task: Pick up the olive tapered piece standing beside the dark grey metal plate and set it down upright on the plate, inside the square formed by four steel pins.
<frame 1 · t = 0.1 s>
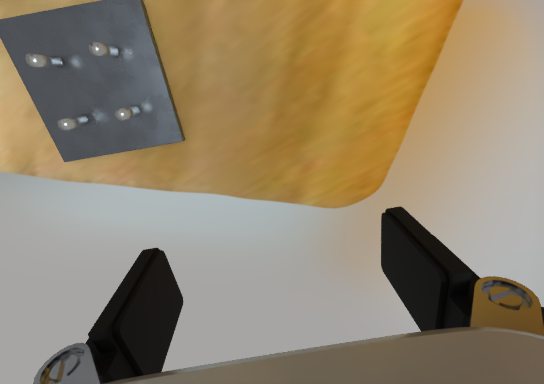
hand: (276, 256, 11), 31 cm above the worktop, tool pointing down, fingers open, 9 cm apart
pin plate: (101, 86, 36), on the worktop
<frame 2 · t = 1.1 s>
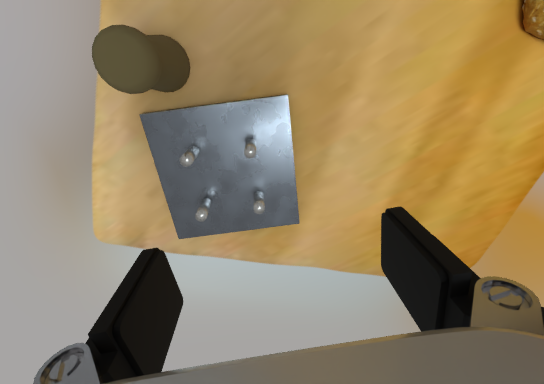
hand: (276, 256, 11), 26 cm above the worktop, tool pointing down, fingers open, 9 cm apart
pin plate: (228, 171, 36), on the worktop
olive tapered piece: (164, 64, 31), on the worktop
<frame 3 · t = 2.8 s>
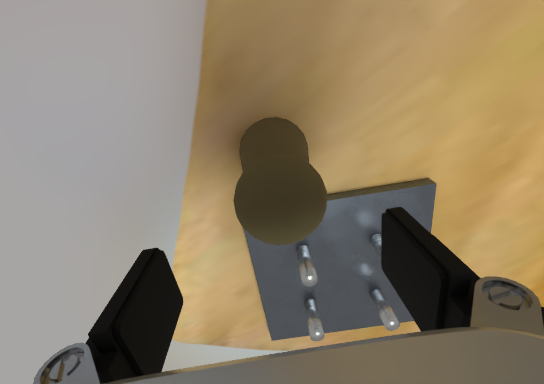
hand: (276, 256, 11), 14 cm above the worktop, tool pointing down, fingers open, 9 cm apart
pin plate: (338, 266, 29), on the worktop
olive tapered piece: (273, 151, 23), on the worktop
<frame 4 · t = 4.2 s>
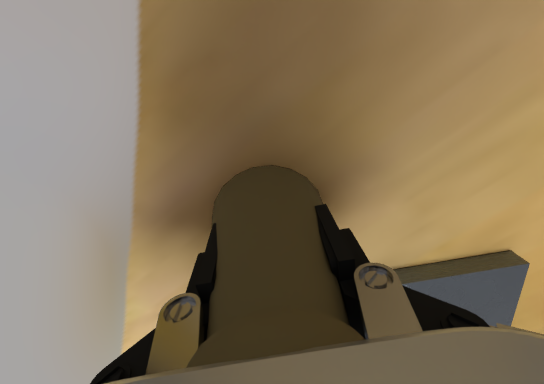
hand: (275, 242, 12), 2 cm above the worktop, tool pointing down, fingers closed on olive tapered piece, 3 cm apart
pin plate: (366, 366, 20), on the worktop
olive tapered piece: (268, 216, 14), on the worktop, touching gripper
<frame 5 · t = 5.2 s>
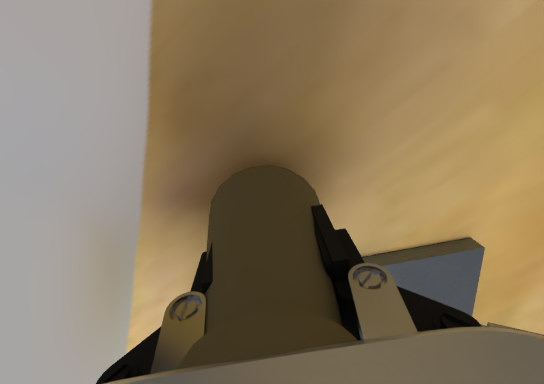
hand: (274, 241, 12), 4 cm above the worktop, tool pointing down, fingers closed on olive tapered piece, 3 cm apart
pin plate: (350, 347, 22), on the worktop
olive tapered piece: (265, 216, 14), point 2 cm above the worktop, touching gripper
when the fingers open (5 cm above the worktop, at t = 10.5 s): olive tapered piece drops 1 cm, resting on pin plate.
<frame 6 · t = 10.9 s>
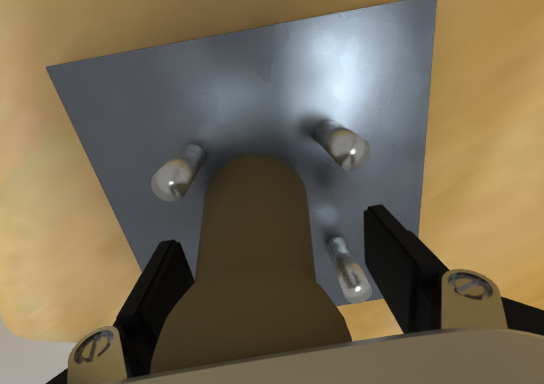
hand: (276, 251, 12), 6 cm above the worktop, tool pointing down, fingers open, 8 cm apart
pin plate: (270, 197, 17), on the worktop
olive tapered piece: (256, 202, 16), point 1 cm above the worktop, touching pin plate
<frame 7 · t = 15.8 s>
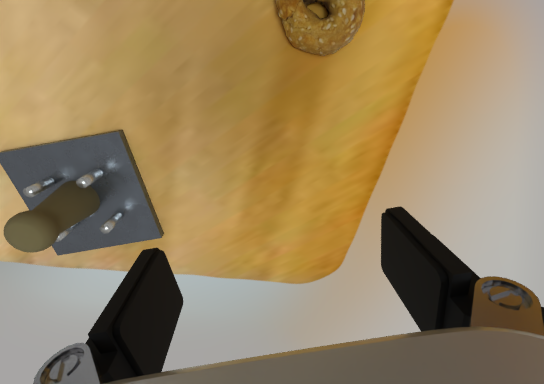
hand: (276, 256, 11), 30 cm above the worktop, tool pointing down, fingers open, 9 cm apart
pin plate: (89, 196, 42), on the worktop
olive tapered piece: (80, 198, 41), point 1 cm above the worktop, touching pin plate
bagel: (315, 10, 34), on the worktop
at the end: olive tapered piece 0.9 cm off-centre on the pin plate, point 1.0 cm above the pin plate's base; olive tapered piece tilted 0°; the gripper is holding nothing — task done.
